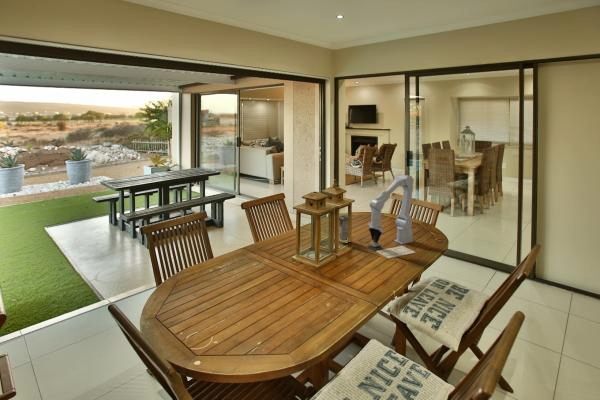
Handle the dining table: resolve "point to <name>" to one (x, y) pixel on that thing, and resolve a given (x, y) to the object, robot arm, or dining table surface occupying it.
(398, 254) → the paper card
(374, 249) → the ink pad
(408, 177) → the robot arm
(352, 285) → the dining table surface
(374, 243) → the stamp
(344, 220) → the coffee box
